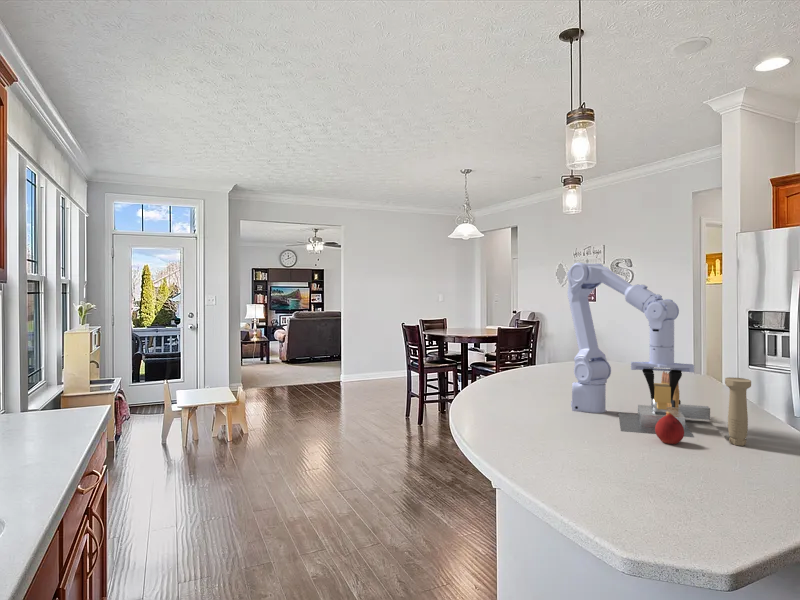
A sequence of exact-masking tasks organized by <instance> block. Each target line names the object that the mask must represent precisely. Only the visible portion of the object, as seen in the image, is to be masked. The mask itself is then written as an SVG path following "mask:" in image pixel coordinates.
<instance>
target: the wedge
mask: <svg viewBox="0 0 800 600" xmlns="http://www.w3.org/2000/svg"><path fill="white" fill-rule="evenodd" d="M654 401H655V402H657V408H658V409H664V410H667V403H671V387H670V385H669V384H663V383H658V382H657V383H656V382H654Z"/></svg>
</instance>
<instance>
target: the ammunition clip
mask: <svg viewBox="0 0 800 600" xmlns="http://www.w3.org/2000/svg"><path fill="white" fill-rule="evenodd" d="M661 383H663V384H669V372H668V371H662V374H661ZM679 385H680V384H679V382H678V384H677V386H676V389H675V391H674V395H673V400H671V403H667V407H677V408H678V407H679V404H682V402H681V399H680V389H679V387H680V386H679Z"/></svg>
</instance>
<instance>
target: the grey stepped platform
mask: <svg viewBox="0 0 800 600" xmlns="http://www.w3.org/2000/svg"><path fill="white" fill-rule="evenodd" d="M650 403H651V405H645V404H644V405H643V404H637V414H634V413H633V414H632V413H631V414H630V413H620V412H619V413H617V414H618V419H619V427H620V432H626V433H636V434H637V433H638V434H639V433H640V434H650V435H656V432H655V426H656V424H657V422H658V421H659V420H660V419H661V418H662V417H664V416H666V412H670V413H671V414H672V415H673V416H674V417H675V418H677V419H678V420H679V421H680V423H681V424H682V426H683V428H684V437H683V438H686V437H687V438H695V436H694V434H693V433H692V431H691V430H690V429H689V427H688V425H687V424H686V419H694V420H704V421H705V420H707V421H708V420H709V421H711V408H710V407H709V406H708V405H698V404H697V405H694V404H682V403H681V404H679V407H678V408H677V407H667V410H664V409H658V408H657V402H655V401H654V399H651V398H650Z"/></svg>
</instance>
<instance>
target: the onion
mask: <svg viewBox="0 0 800 600" xmlns="http://www.w3.org/2000/svg"><path fill="white" fill-rule="evenodd" d="M655 432H656V434H655V435H656V436H657V438H658V439H659V440H660V441H661V442H662V443H663V444H666V445H677V444H679V443H680V442H681V441H682V440H683V438H685V437H684V428H683V426H682V424H681V423H680V421H679V420H678V419H677V418H675V417H674V416H673V415H672V414H671V413H670V412H666V416H664V417H662V418H661V419H660V420H659V421H658V422H657V424H656V426H655Z"/></svg>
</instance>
